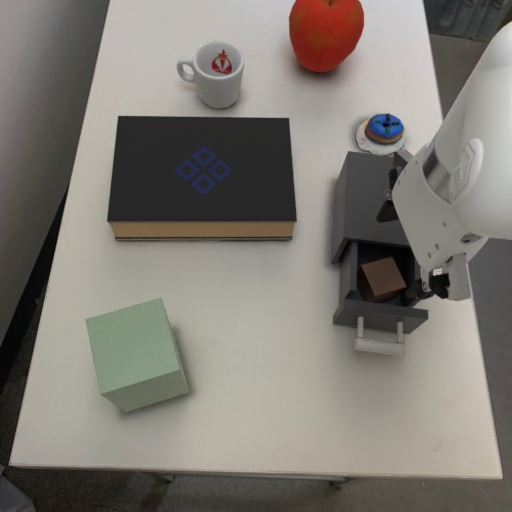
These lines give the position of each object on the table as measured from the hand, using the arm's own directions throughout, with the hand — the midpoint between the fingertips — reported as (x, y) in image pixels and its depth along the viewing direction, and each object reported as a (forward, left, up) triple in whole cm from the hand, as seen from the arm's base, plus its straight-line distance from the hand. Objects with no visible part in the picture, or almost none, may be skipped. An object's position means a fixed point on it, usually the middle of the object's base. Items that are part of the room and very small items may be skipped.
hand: (402, 254), depth 56 cm
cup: (+41, +11, -14) cm, 45 cm away
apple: (+43, -9, -14) cm, 46 cm away
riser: (-1, +31, -14) cm, 34 cm away
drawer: (-1, 0, -13) cm, 13 cm away
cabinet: (+10, -5, -14) cm, 18 cm away
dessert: (+25, -13, -14) cm, 31 cm away
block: (0, 0, -12) cm, 12 cm away
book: (+23, +17, -14) cm, 32 cm away
